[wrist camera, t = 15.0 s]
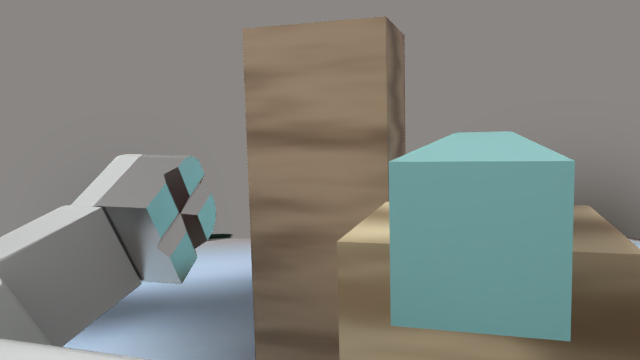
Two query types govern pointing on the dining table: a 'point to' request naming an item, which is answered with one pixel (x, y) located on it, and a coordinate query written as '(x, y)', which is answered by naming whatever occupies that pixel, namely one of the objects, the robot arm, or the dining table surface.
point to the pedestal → (485, 349)
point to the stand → (315, 166)
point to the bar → (482, 237)
